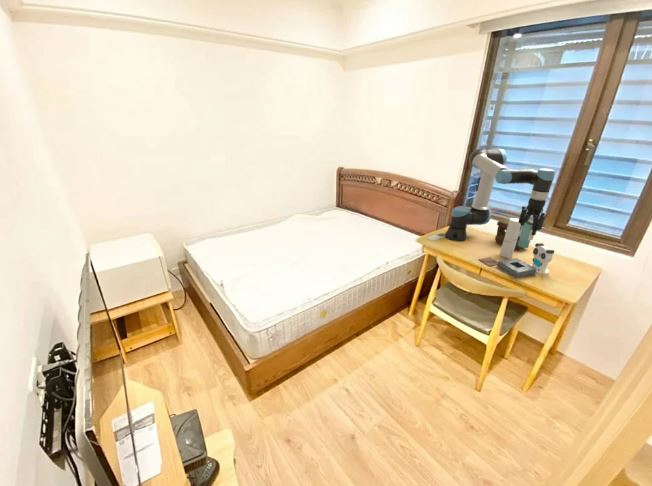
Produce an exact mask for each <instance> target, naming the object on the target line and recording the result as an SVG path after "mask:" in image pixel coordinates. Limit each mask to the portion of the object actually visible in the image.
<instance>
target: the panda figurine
mask: <svg viewBox="0 0 652 486" xmlns="http://www.w3.org/2000/svg"><path fill="white" fill-rule="evenodd" d="M534 246H535V247H534V249H533V251H532V253H533V258H532V262H533V263H531V264H529V263H528V264H529V265H531V266H533V267H534V268H536V269H537V270H536V273H535V274H541V275H547V274H550V270H549V268H547V267H548V264H549V263H551V261H552V260H553V257H554V256H553V255H554V253H555V250H553V249H551V248H550V247H549V246H546V245H545V244H544V243H541V242H540V243H539V242H538V243H535V245H534Z"/></svg>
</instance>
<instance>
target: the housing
mask: <svg viewBox="0 0 652 486" xmlns="http://www.w3.org/2000/svg"><path fill="white" fill-rule="evenodd" d="M497 262H498V265H496V267H497V268H499V269H500V270H502V271H503V272H505V273H506V274H509V275H510V276H511V277H513V278H515V279H519V278H524V277H530V276H535V275H536V274H537V273H536V270H537V269H536V268H534V267H533V266H531V265H529V263H526V262H525V261H524V260H521V259H519V258H517V257H516V258H508V259H503V260H498V261H497Z"/></svg>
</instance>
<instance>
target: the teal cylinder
mask: <svg viewBox="0 0 652 486" xmlns="http://www.w3.org/2000/svg"><path fill="white" fill-rule="evenodd" d="M531 229H533V220H532V221H531V220H528V221H526V222H525V223H524V226H523V229H522V233H521V236H520V239H519V242H518V246H519V247H522V248H524V249H527V248H529V246H530V243H531V240H528V237H529V234H530V231H531Z"/></svg>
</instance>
